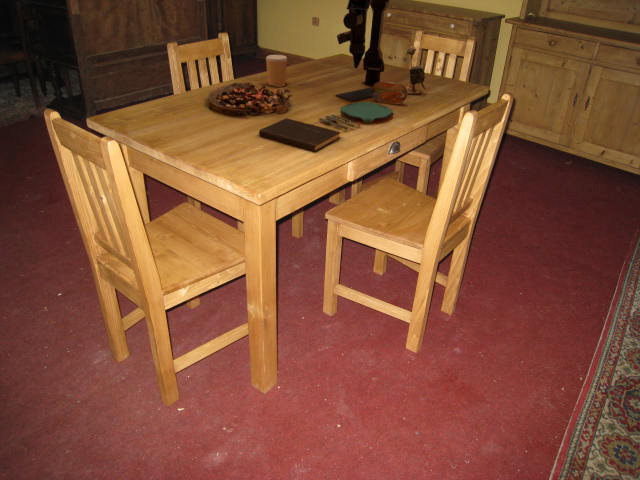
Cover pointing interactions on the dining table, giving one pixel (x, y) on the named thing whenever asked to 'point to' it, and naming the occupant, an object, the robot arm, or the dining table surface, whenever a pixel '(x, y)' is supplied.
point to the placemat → (356, 95)
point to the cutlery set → (360, 113)
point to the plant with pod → (415, 74)
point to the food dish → (248, 100)
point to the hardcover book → (300, 134)
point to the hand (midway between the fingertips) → (356, 65)
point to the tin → (389, 92)
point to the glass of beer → (276, 69)
